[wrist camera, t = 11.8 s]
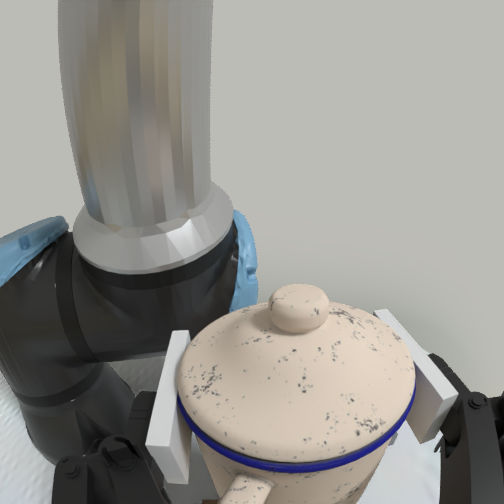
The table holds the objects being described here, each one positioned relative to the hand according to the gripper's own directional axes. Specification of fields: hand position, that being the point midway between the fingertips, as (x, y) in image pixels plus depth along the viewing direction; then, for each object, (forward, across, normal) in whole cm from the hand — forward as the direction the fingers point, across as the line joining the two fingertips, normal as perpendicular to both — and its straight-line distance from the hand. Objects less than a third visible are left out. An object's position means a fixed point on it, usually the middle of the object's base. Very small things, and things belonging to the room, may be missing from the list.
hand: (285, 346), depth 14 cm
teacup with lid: (-4, -1, -7) cm, 9 cm away
